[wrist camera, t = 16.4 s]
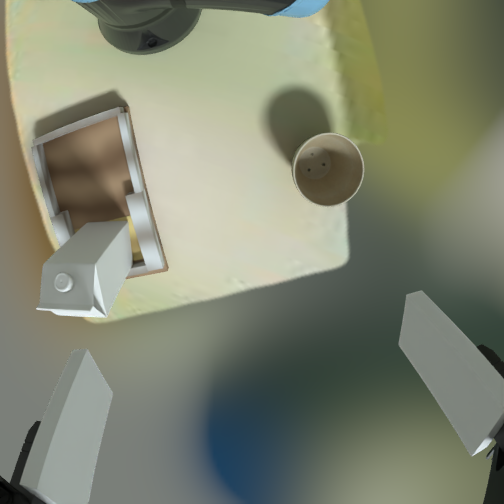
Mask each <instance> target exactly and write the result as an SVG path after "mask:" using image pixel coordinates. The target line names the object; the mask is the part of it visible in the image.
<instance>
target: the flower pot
mask: <svg viewBox="0 0 504 504" xmlns="http://www.w3.org/2000/svg"><path fill="white" fill-rule="evenodd" d="M311 154H312V156H311ZM322 163H324V164H322ZM309 170H310V171H309ZM292 176H293V180H294V183H295V185H296V188H297V189H298V191H299V192H300V194H301V195H302V196H303V197H304V198H305V199H306V200H307V201H309V202H310V203H312V204H314V205H317V206H320V207H335V206H338V205H341V204H343V203H345V202H347V201H348V200H349V199H350V198H352V197H353V196H354V195H355V193H356V192H357V191H358V189H359V187H360V185H361V183H362V180H363V176H364V162H363V158H362V155H361V153H360V151H359V149H358V147H357V146H356V145H355V144H354V143H353V142H352V141H351V140H350V139H348V138H347V137H345V136H343V135H341V134H337V133H321V134H317V135H315V136H312V137H310V138H308V139H307V140H306V141H304V142H303V143H302V144H301V145H300V146H299V147H298V149H297V150H296V152H295V154H294V157H293V160H292Z"/></svg>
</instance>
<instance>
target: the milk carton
mask: <svg viewBox="0 0 504 504" xmlns="http://www.w3.org/2000/svg"><path fill="white" fill-rule="evenodd" d="M132 265H133V257H132V250H131V241H130V233H129V223H128V221H106V222H88V223H86V224H85V225H84V226H83V227H82V228H81V229H79V230H78V231H77V232H76V233H75V234H74V235H73V236H72V237H71V238H70V239H69V240H68V241H67V242H66V243H64V244H63V245H62V246H61V247H60V248H59V249H58V250H57V251H56V252H55V253H54V254H53V255H52V256H51V257H50V258H49V259H48V260H47V261H46V262H45V263H44V265H43V270H42V280H41V292H40V304H39V305H38V306H37V307H36V309H37V310H50V311H52V312H53V313H55V314H57V315H66V316H83V317H107V316H108V314H109V312H110V309H111V307H112V305H113V303H114V301H115V299H116V297H117V295H118V293H119V291H120V289H121V287H122V285H123V283H124V281H125V279H126V277H127V275H128V273H129V271H130V269H131V267H132Z"/></svg>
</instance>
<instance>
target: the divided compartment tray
mask: <svg viewBox="0 0 504 504" xmlns="http://www.w3.org/2000/svg"><path fill="white" fill-rule="evenodd" d="M33 145H34V146H33V147H32V152H33V157H34V161H35V165H36V169H37V173H38V177H39V181H40V185H41V188H42V192H43V196H44V199H45V202H46V206H47V209H48V212H49V215H50V219H51V222H52V225H53V228H54V231H55V234H56V237H57V239H58V242H59V245H60V247H61V246H62V245H63V244H64V243H66V242H67V241H68V240H69V239H70V238H71V237H72V236H73V235H74V234H75V233H76V232H77V231H78V230H79V229H81V228H82V227H83V226H84V225H85V224H86V223H88V222H106V221H128V223H129V233H130V241H131V250H132V257H133V265H132V267H131V269H130V271H129V273H128V275H127V277H126V279H129V278H134V277H139V276H145V275H150V274H155V273H160V272H165V271H168V268H169V267H168V264H167V261H166V257H165V254H164V251H163V247H162V244H161V240H160V237H159V233H158V230H157V226H156V222H155V219H154V215H153V211H152V207H151V204H150V200H149V196H148V192H147V188H146V184H145V180H144V175H143V171H142V167H141V163H140V158H139V154H138V149H137V145H136V140H135V135H134V130H133V125H132V120H131V115H130V110H129V107H128V106H126V107H117V108H114V109H111V110H108V111H105V112H102V113H99V114H96V115H93V116H90V117H87V118H85V119H82V120H79V121H77V122H74V123H72V124H69V125H66V126H64V127H62V128H59V129H57V130H54V131H52V132H50V133H47V134H45V135H43V136H40V137H38V138H36V139H34V140H33Z"/></svg>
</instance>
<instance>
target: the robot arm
mask: <svg viewBox="0 0 504 504" xmlns="http://www.w3.org/2000/svg"><path fill="white" fill-rule="evenodd" d="M72 1H74V2H76V3H78V4H79V5H81V6H82V7H83V8H85V9H86V10H88V11H89V12H90V13H92V14H93V15H95V16H96V17H97V18H98V24H99V28H100V31H101V33H102V35H103V36H104V38H105V39H106V40H107V41H108V42H109V43H110V44H111V45H113V46H114V47H116V48H117V49H119V50H121V51H123V52H126V53H130V54H136V55H146V54H153V53H157V52H161V51H163V50H166V49H168V48H170V47H172V46H174V45H176V44H177V43H179V42H180V41H181V40H183V39H184V38H185V37H186V36H187V35H188V34H189V33H190V32H191V31H192V30H193V28H194V27H195V25H196V24H197V22H198V20H199V17H200V14H201V10H202V9H219V10H233V11H244V12H253V13H261V14H264V15H267V16H278V15H280V16H288V17H296V18H301V17H307V16H311V15H313V14H315V13H316V12H318V11H319V10H321V9H322V8H323V7H324V6H325V5H326V4H327V3H328V1H329V0H72ZM399 346H400V348H401V349H402V350H403V352H404V353H405V355H406V356H407V358H408V359H409V360H410V362H411V363H412V365H413V366H414V368H415V369H416V371H417V372H418V374H419V375H420V377H421V378H422V380H423V381H424V382H425V384H426V386H427V387H428V389H429V390H430V392H431V393H432V395H433V396H434V398H435V399H436V401H437V402H438V404H439V405H440V407H441V408H442V410H443V411H444V413H445V415H446V416H447V418H448V419H449V421H450V423H451V424H452V426H453V427H454V429H455V431H456V432H457V434H458V435H459V437H460V439H461V440H462V442H463V444H464V445H465V447H466V449H467V450H468V452H469V454H470V455H471V456H473V455H475V454H476V453H478V452H480V451H481V450H483V449H484V448H486V447H487V446H488V445H489V444H490V442H491V441H492V440H493V438H494V439H495V440H496V442H497V443H496V444H495V446H494V447H493V448H492V449H491V450H490V452H489V453H488V454H487V457H486V459H489V458H490V456H491V455H492V454H493V458H492V465H491V470H490V475H489V480H488V485H487V489H486V494H485V498H484V502H483V504H504V362H503V361H501V359H500V358H499V357H498V356H497V354H496V353H495V352H494V351H493V350H491V349H489V348H488V347H486V346H484V345H479V346H477V347H475V345H474V344H473V343H472V342H471V341H470V340H469V339H468V338H467V337H466V336H465V335H464V333H463V332H462V331H461V330H460V329H459V328H458V327H457V326H456V325H455V324H454V323H453V322H452V321H451V320H450V319H449V318H448V317H447V316H446V315H445V314H444V313H443V312H442V311H441V309H439V308H438V307H437V305H436V304H435V303H433V301H431V299H430V298H429V297H428V296H426V294H424V293H423V292H422V291H417V292H414V293H410V294H407V296H406V303H405V309H404V316H403V322H402V328H401V334H400V340H399ZM112 396H113V392H112V391H111V389H110V387H109V386H108V384H107V382H106V381H105V379H104V378H103V376H102V374H101V372H100V371H99V369H98V367H97V365H96V363H95V362H94V360H93V358H92V357H91V354H90V353H89V351H88V349H79V350H73V351H72V353H71V355H70V357H69V359H68V361H67V363H66V366H65V368H64V370H63V372H62V374H61V376H60V379H59V381H58V383H57V385H56V387H55V390H54V392H53V394H52V397H51V399H50V401H49V404H48V406H47V409H46V411H45V413H44V416H43V418H42V421H36V422H35V424H34V425H33V426H32V427H31V428H30V430H29V431H28V434H27V437H26V439H25V443H24V444H23V447H22V452H20V455H19V458H18V461H17V464H16V467H15V470H14V473H13V476H12V479H11V481H10V483H8V482H7V481H6V480H5V479H3V478H2V477H1V476H0V504H88V503H89V497H90V491H91V486H92V480H93V476H94V471H95V466H96V461H97V457H98V452H99V448H100V443H101V439H102V435H103V431H104V426H105V423H106V419H107V415H108V411H109V407H110V404H111V399H112Z"/></svg>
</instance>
